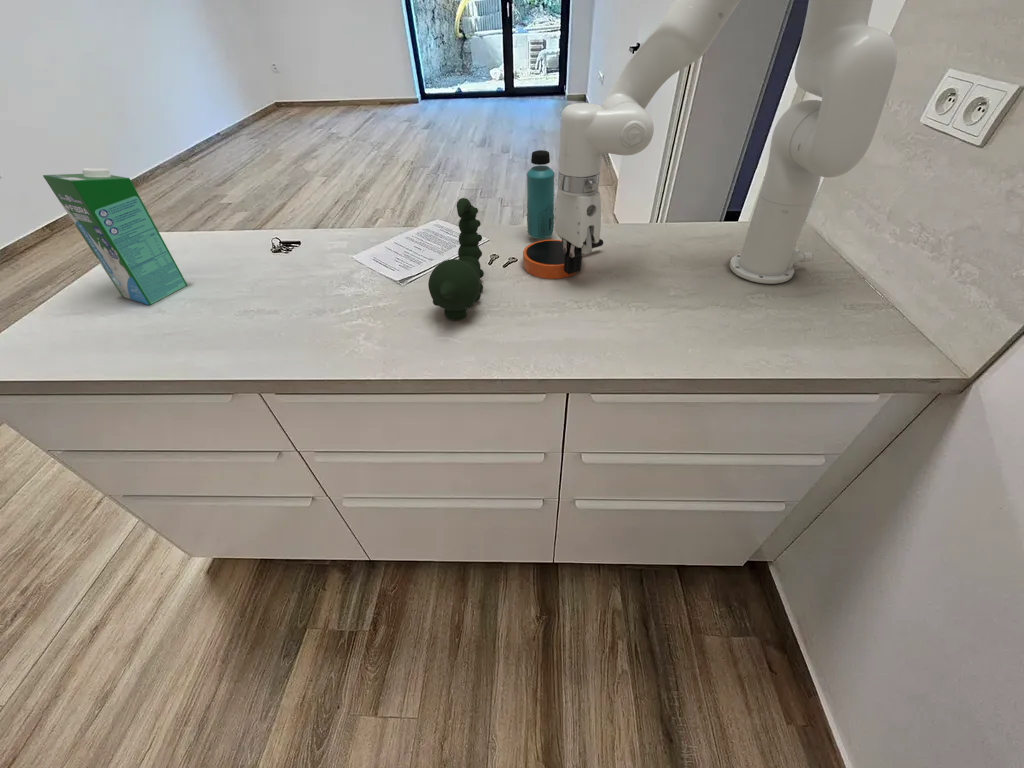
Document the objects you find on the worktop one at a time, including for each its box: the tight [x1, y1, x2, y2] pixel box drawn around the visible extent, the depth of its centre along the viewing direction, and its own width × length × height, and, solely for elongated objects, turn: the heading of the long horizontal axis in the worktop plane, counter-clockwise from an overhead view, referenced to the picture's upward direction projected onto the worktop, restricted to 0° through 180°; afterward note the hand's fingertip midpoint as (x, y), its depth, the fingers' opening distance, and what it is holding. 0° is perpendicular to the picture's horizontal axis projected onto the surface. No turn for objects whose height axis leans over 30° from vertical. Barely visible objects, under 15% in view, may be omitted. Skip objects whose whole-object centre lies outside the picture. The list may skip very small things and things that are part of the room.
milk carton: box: [42, 167, 188, 306], centre depth 94 cm, size 9×9×25 cm
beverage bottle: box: [526, 149, 556, 239], centre depth 110 cm, size 6×7×20 cm
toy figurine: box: [427, 197, 485, 321], centre depth 90 cm, size 9×19×25 cm
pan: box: [522, 238, 604, 280], centre depth 106 cm, size 20×13×3 cm, turn 118°
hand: (572, 271), depth 99 cm, fingers closed
